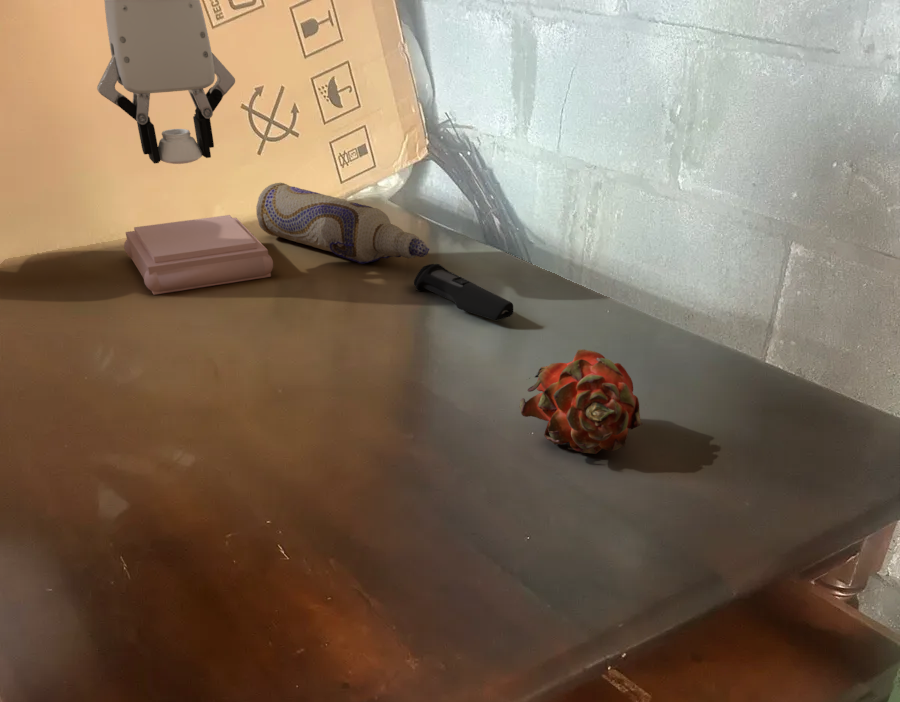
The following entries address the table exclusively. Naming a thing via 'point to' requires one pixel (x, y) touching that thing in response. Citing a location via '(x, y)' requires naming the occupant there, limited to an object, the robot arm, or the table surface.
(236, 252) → the decorative box
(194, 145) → the white jar
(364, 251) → the decorative bottle
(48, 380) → the table surface
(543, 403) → the dragon fruit
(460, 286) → the electric trimmer
